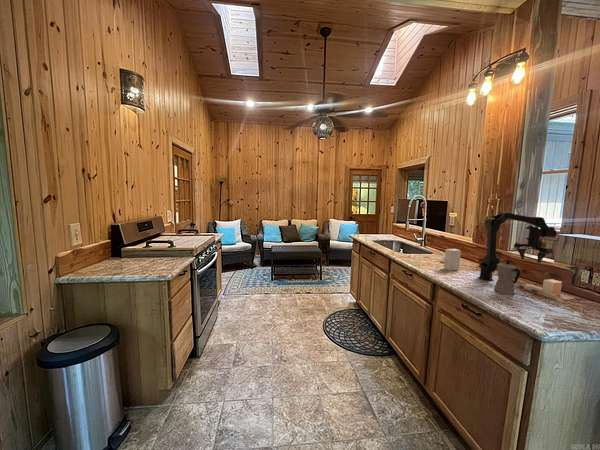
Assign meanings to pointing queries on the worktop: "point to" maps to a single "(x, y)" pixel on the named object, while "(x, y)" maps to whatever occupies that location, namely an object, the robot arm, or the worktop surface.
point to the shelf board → (539, 291)
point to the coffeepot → (506, 278)
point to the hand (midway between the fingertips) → (530, 261)
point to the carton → (552, 286)
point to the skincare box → (452, 259)
